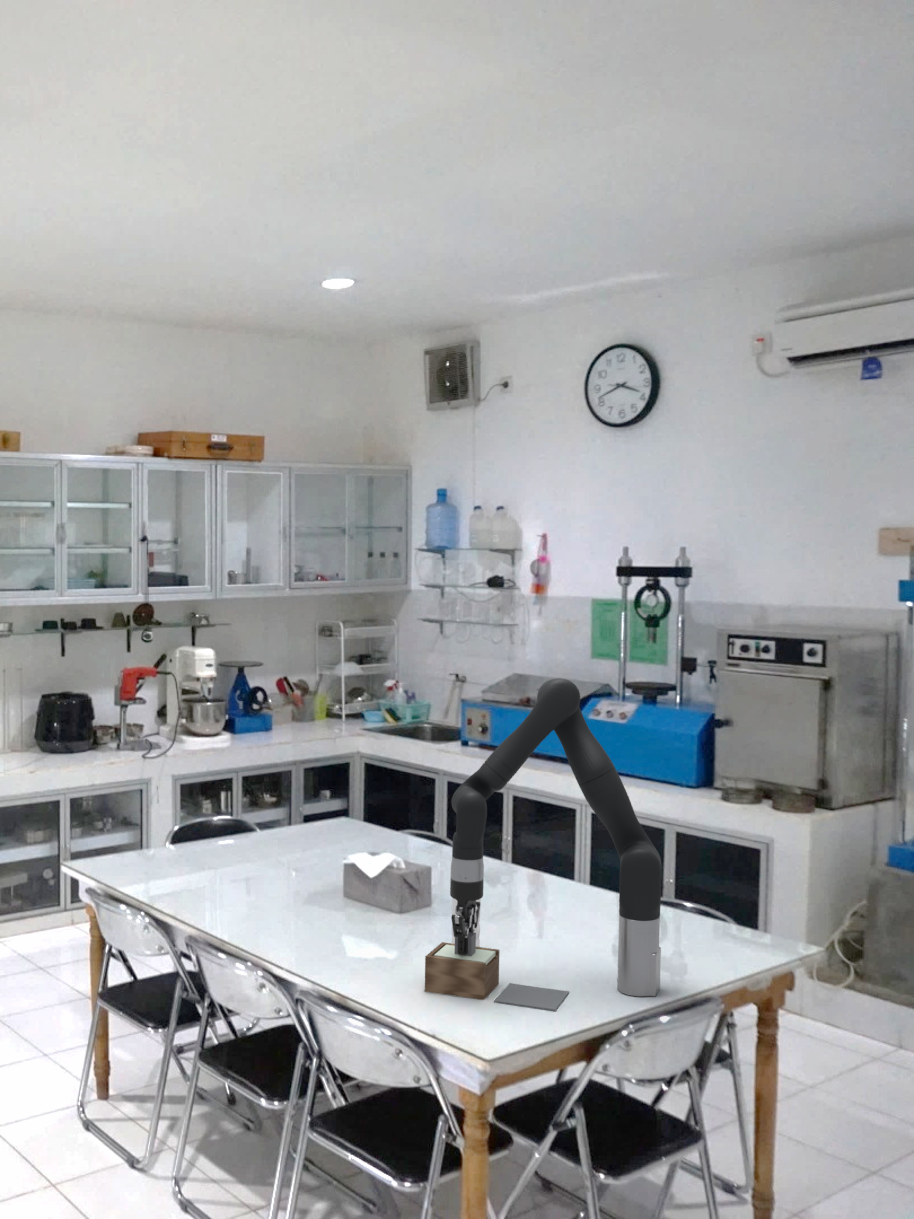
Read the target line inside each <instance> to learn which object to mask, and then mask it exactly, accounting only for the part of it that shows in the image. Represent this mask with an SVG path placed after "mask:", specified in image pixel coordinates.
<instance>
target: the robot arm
mask: <svg viewBox="0 0 914 1219" xmlns="http://www.w3.org/2000/svg"><path fill="white" fill-rule="evenodd" d="M537 691H538V692H537V695H536V701H537V702H536V703H535V704H534V706H533V708H532V710H531V711H530V713H528V715H527V716H526V717H525V718H524V720H523V721H522V722H521V723H520V724H519V725H518V726H517V728H515V729H514V731H512V732H511V733H510V734H509V735H508V736H507V737H506V738H505V739H504V740H503V741H501V743H500V744H499V745H498V746H497V747H496V748H495V749H494V750H493V751H492V753H491V754H490V755H489V756H488V757H487V758H486V759H485V761H484V762H483V763H482V765H481V766H479V768H478V770H476V771H475V772H474V773H473V774H471V775H470V776H469V777H468V778H467V779H466V780H464V782H462V783H461V784H460V785H459V787H458V788H457V789H456V790H455V791H454V793H453V795H452V797H451V807H452V808H451V809H452V810H453V811H454V813H455V814H456V825H455V826H456V827H455V832H454V833H453V836H452V852H451V854H452V855H451V863H450V880H449V881H450V882H449V883H450V885H449V889H450V890H449V896H450V897H451V899H452V898H454V899H456V900H457V906H456V908H455V913H456V915H452V914H451V924H452V925H451V927H452V926H453V933H454V937H458V954H462V955H466V954H467V953H468V933H469V932H474V931H475V928H477V923H478V917H479V910H480V911H481V908H480V905H481V906H482V903H481V904H480V902H477V901H476V900H479V899H483V897H484V881H485V880H484V878H485V874H484V873H485V864H484V835H485V831H486V830H485V829H486V825H487V824H486V823H487V817H488V806H487V805H488V804H487V800H488V799H489V798H490V797H491V796H492V795H493V794H494V793H495V792H498V791H501V790H502V789H503V788H505V787H506V785H507V784H508V783H509V781H511V779H512V778H514V776H515V775H516V774H517V773H518V771H519V769H521V768H522V766H523V765H524V764H525V762H526V761H527V760H528V758H530V756H531V755H532V754H533V753H534V751H535V750H536V749H537V747H538V746H539V745H540V744H541V743H542V742H543V741H544V740H545V739H546V738H547V737H548V736H549V735H550V734H551V733H552V732H553V731H554V733H555V735H556V736H557V738H558V740H559V742H560V744H561V745H562V748H563V751H564V753H565V756H566V759H567V761H568V764H569V767H570V769H571V771H572V774H573V775H574V778H575V780H576V783H577V784H578V787H579V788H580V791H581V792H582V794H583V796H584V799H585V800H586V802H587V803H588V805H589V806H590V808H591V809H592V811H593V812H594V814H595V815H596V816H597V818H598V819H599V821H600V822H601V823H602V824H603V825H604V827H605V829H606V830H607V832H608V833H609V836H610V838H611V840H612V842H613V844H614V846H615V849H616V851H617V852H616V853H617V855H618V858H619V861H620V866H619V886H618V887H619V892H618V893H619V897H618V906H619V908H618V946H617V947H618V948H617V977H616V982H617V983H616V986H617V990H618V991H619V992H621V993H622V994H625V995H627V996H632V997H656V995H657V994H658V992H659V991H660V989H661V962H662V961H661V959H662V958H661V957H662V956H661V955H662V948H661V946H660V931H661V930H660V929H661V928H660V927H661V926H660V925H661V920H660V919H661V907H662V906H661V902H662V900H661V899H662V898H661V896H662V858H661V856H660V853H659V851H658V850H657V849H656V847H655V845H654V844H653V842H652V840H651V838H650V837H649V836H648V835H647V833H646V832H645V830H644V828H643V826H642V825H641V823H640V820H638V818H637V815H636V814H635V810H634V808H633V805H632V803H631V800H630V796H629V795H628V792H627V790H626V788H625V784H623V781H622V779H621V777H620V774H619V773H618V771H617V769H616V767H615V764H614V763H613V762H612V761H613V760H611V758H610V755H608V753H607V752H606V750H605V749H604V748H603V745H601V743H600V742H599V741H598V739H597V738H596V737H595V735H594V734H593V732H592V731H591V729H590V727H589V726H588V724H587V721H586V720H585V717H584V715H583V712H582V709H581V708H580V703H581V693H580V689H579V688H578V687H577V685H576V684H575V682H572V681H571V680H569V679H566V678H559V677H558V678H552V679H548V680H546V681H545V682H543V683H542V684H541V685H540V687H539V689H538V690H537ZM472 917H473V919H472ZM460 930H461V932H460Z"/></svg>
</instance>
